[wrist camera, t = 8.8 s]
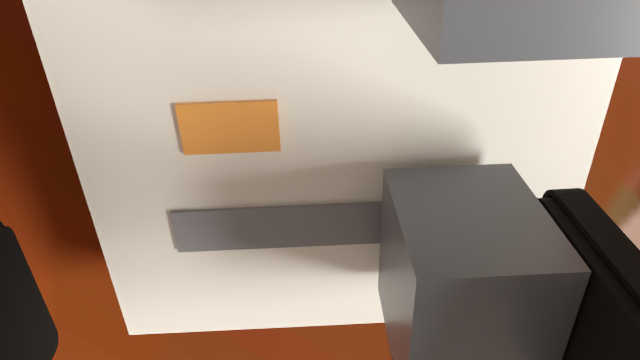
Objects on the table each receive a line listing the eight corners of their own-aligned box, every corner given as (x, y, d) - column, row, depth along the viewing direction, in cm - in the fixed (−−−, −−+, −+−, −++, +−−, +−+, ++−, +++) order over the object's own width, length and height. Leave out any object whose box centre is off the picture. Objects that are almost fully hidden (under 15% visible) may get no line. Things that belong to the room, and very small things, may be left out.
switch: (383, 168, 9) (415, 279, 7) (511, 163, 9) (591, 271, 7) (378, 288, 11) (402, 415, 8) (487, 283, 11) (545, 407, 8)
